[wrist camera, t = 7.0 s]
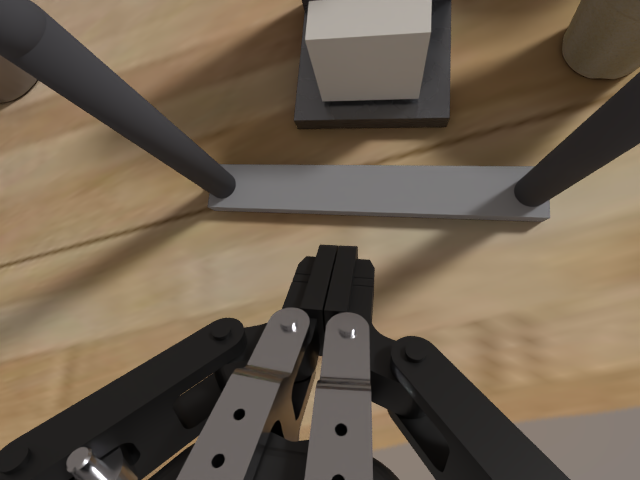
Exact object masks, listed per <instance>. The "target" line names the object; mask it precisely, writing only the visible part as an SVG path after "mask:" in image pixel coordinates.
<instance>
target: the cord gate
mask: <svg viewBox="0 0 640 480" xmlns="http://www.w3.org/2000/svg"><path fill="white" fill-rule="evenodd" d="M0 55H1V56H2V57H4V58H5V59H7V60H8V61H10V62H11V63H13V64H14V65H16V66H17V67H19V68H21V69H22V70H24V71H25V72H27V73H28V74H30V75H31V76H33V77H34V78H36V79H37V80H39V81H40V82H42V83H43V84H45V85H46V86H48V87H49V88H51V89H52V90H54V91H55V92H57V93H59V94H60V95H62V96H63V97H65V98H66V99H68V100H69V101H71V102H72V103H74V104H75V105H77V106H78V107H80V108H81V109H83V110H84V111H86V112H87V113H89V114H90V115H92V116H93V117H95V118H97V119H98V120H100V121H101V122H103V123H104V124H106V125H107V126H109V127H110V128H112V129H113V130H115V131H116V132H118V133H119V134H121V135H122V136H124V137H125V138H127V139H128V140H130V141H132V142H133V143H135V144H136V145H138V146H139V147H141V148H142V149H144V150H145V151H147V152H148V153H150V154H151V155H153V156H154V157H156V158H157V159H159V160H160V161H162V162H163V163H165V164H166V165H168V166H170V167H171V168H173V169H174V170H176V171H177V172H179V173H180V174H182V175H183V176H185V177H186V178H188V179H189V180H191V181H192V182H194V183H195V184H197V185H198V186H200V187H201V188H203V189H204V190H206V191H208V192H209V193H210V194H209V201H208V207H209V208H210V209H212V210H214V211H242V212H272V213H302V214H331V215H361V216H390V217H420V218H450V219H479V220H509V221H539V222H543V221H545V220H547V219H549V218H550V201H549V200H550V199H551V198H553V197H554V196H556V195H558V194H559V193H561V192H562V191H564V190H566V189H567V188H569V187H570V186H572V185H574V184H575V183H577V182H578V181H580V180H582V179H583V178H585V177H586V176H588V175H590V174H591V173H593V172H594V171H596V170H598V169H599V168H601V167H602V166H604V165H606V164H607V163H609V162H610V161H612V160H614V159H615V158H617V157H619V156H620V155H622V154H623V153H625V152H627V151H628V150H630V149H631V148H633V147H635V146H636V145H638V144H639V143H640V72H639V73H638V74H637V75H636V76H635V77H634V78H632V79H631V80H630V81H629V82H628V83H627V84H626V85H625V86H624V87H622V88H621V89H620V90H619V91H618V92H617V93H616V94H615V95H614V96H612V97H611V98H610V99H609V100H608V101H607V102H606V103H605V104H604V105H602V106H601V107H600V108H599V109H598V110H597V111H596V112H595V113H594V114H592V115H591V116H590V117H589V118H588V119H587V120H586V121H585V122H584V123H582V124H581V125H580V126H579V127H578V128H577V129H576V130H575V131H574V132H572V133H571V134H570V135H569V136H568V137H567V138H566V139H565V140H564V141H562V142H561V143H560V144H559V145H558V146H557V147H556V148H555V149H554V150H552V151H551V152H550V153H549V154H548V155H547V156H546V157H545V158H544V159H542V160H541V161H540V162H539V163H538V164H537V165H536V166H396V165H247V164H218V163H217V162H216V161H215V160H214V159H213V158H212V157H210V156H209V155H208V154H207V153H206V152H205V151H204V150H202V149H201V148H200V147H199V146H198V145H197V144H196V143H194V142H193V141H192V140H191V139H190V138H189V137H188V136H186V135H185V134H184V133H183V132H182V131H181V130H180V129H178V128H177V127H176V126H175V125H174V124H173V123H172V122H170V121H169V120H168V119H167V118H166V117H165V116H164V115H162V114H161V113H160V112H159V111H158V110H157V109H156V108H154V107H153V106H152V105H151V104H150V103H149V102H148V101H146V100H145V99H144V98H143V97H142V96H141V95H140V94H138V93H137V92H136V91H135V90H134V89H133V88H132V87H130V86H129V85H128V84H127V83H126V82H125V81H124V80H122V79H121V78H120V77H119V76H118V75H117V74H116V73H114V72H113V71H112V70H111V69H110V68H109V67H108V66H106V65H105V64H104V63H103V62H102V61H101V60H100V59H98V58H97V57H96V56H95V55H94V54H93V53H92V52H90V51H89V50H88V49H87V48H86V47H85V46H84V45H82V44H81V43H80V42H79V41H78V40H77V39H76V38H74V37H73V36H72V35H71V34H70V33H69V32H68V31H66V30H65V29H64V28H63V27H62V26H61V25H60V24H58V23H57V22H56V21H55V20H54V19H53V18H52V17H50V16H49V15H48V14H47V13H46V12H45V11H44V10H42V9H41V8H40V7H39V6H37V5H36V4H35V3H33V2H31V1H30V0H0Z"/></svg>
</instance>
